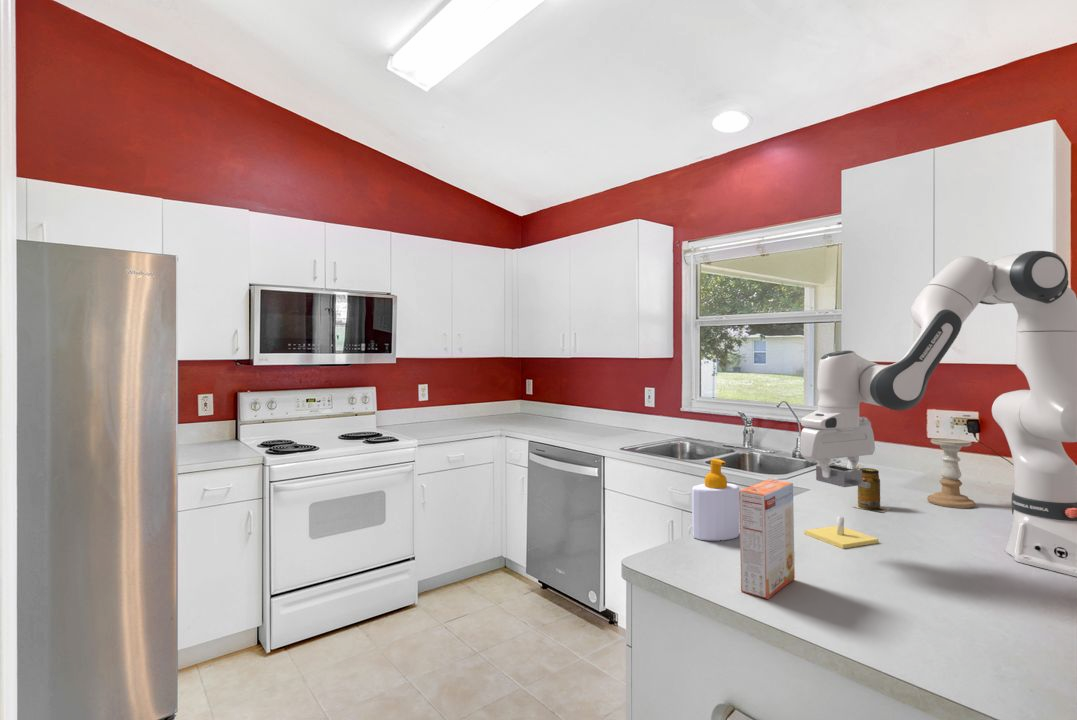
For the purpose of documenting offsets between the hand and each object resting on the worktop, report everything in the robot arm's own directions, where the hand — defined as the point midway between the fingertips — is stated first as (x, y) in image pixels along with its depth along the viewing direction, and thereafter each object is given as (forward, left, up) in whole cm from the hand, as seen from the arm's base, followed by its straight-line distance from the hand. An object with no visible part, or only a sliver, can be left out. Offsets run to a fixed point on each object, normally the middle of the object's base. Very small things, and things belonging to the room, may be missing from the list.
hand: (838, 475), depth 133 cm
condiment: (+26, -43, -19) cm, 54 cm away
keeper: (+8, -10, -19) cm, 23 cm away
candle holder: (+21, -71, -19) cm, 76 cm away
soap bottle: (+21, +19, -19) cm, 34 cm away
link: (-2, 0, -2) cm, 3 cm away
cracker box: (-9, +29, -19) cm, 36 cm away
